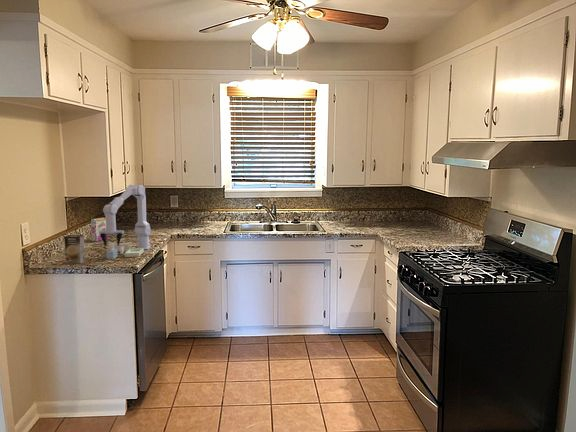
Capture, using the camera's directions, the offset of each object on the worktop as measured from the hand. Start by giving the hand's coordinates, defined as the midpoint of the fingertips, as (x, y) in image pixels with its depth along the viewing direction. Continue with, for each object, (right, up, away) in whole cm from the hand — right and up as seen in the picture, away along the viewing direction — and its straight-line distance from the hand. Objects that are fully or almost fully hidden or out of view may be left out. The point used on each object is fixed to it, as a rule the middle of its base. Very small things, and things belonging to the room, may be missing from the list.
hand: (112, 245), depth 277 cm
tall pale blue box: (0, -8, 0) cm, 8 cm away
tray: (+11, -6, +8) cm, 15 cm away
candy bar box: (-30, 0, +54) cm, 62 cm away
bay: (-2, -5, +14) cm, 15 cm away
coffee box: (-17, -9, -13) cm, 23 cm away
